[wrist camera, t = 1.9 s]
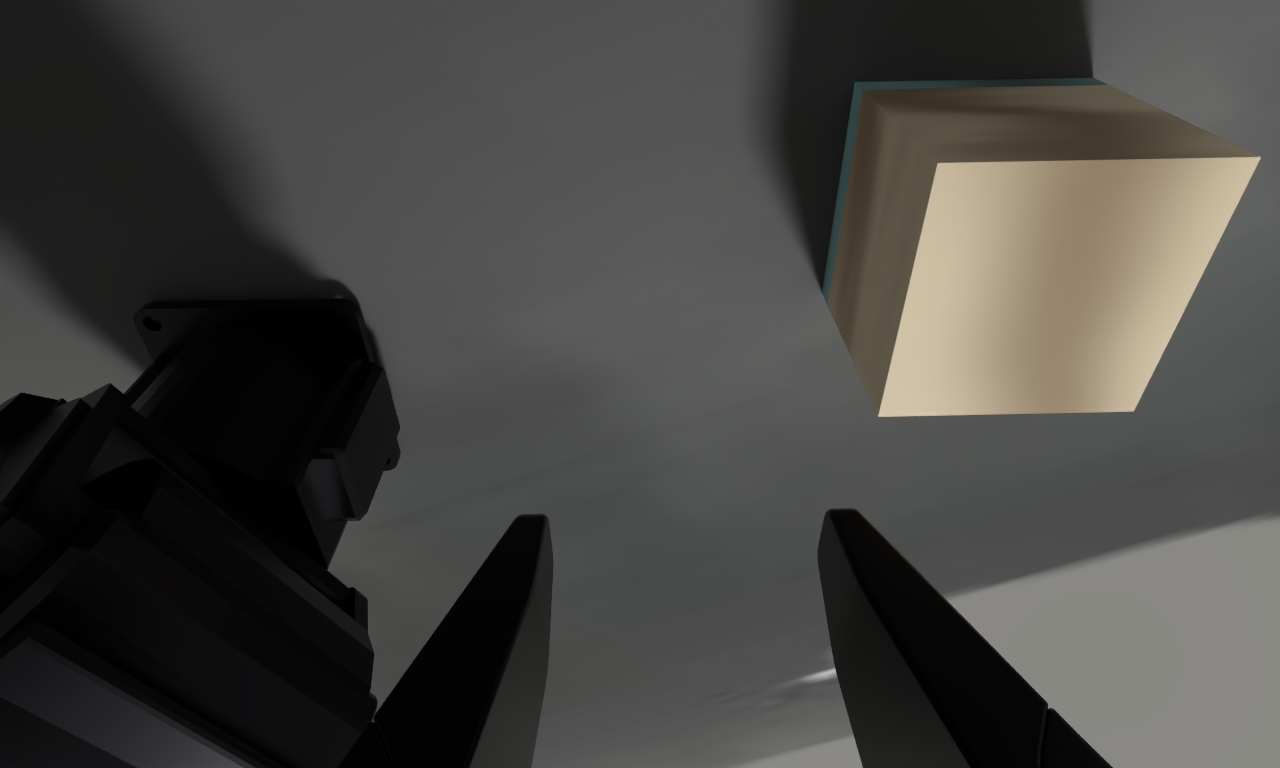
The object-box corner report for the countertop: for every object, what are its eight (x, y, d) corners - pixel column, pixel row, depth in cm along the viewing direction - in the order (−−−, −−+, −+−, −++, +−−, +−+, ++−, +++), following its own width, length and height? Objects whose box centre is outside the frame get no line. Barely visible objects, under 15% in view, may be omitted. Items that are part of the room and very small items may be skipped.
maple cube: (821, 291, 22) (877, 416, 17) (853, 81, 18) (937, 162, 13) (1020, 287, 22) (1133, 411, 17) (1091, 76, 18) (1260, 157, 13)
